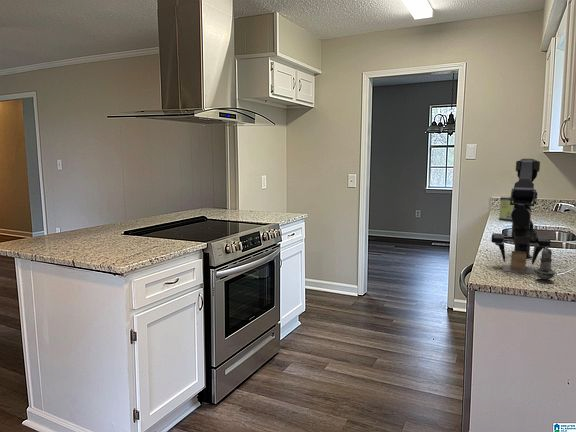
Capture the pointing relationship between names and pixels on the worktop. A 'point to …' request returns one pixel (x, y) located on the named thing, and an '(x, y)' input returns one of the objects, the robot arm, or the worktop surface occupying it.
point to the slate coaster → (527, 270)
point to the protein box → (506, 209)
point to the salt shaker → (545, 268)
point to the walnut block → (518, 260)
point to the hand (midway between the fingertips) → (518, 263)
